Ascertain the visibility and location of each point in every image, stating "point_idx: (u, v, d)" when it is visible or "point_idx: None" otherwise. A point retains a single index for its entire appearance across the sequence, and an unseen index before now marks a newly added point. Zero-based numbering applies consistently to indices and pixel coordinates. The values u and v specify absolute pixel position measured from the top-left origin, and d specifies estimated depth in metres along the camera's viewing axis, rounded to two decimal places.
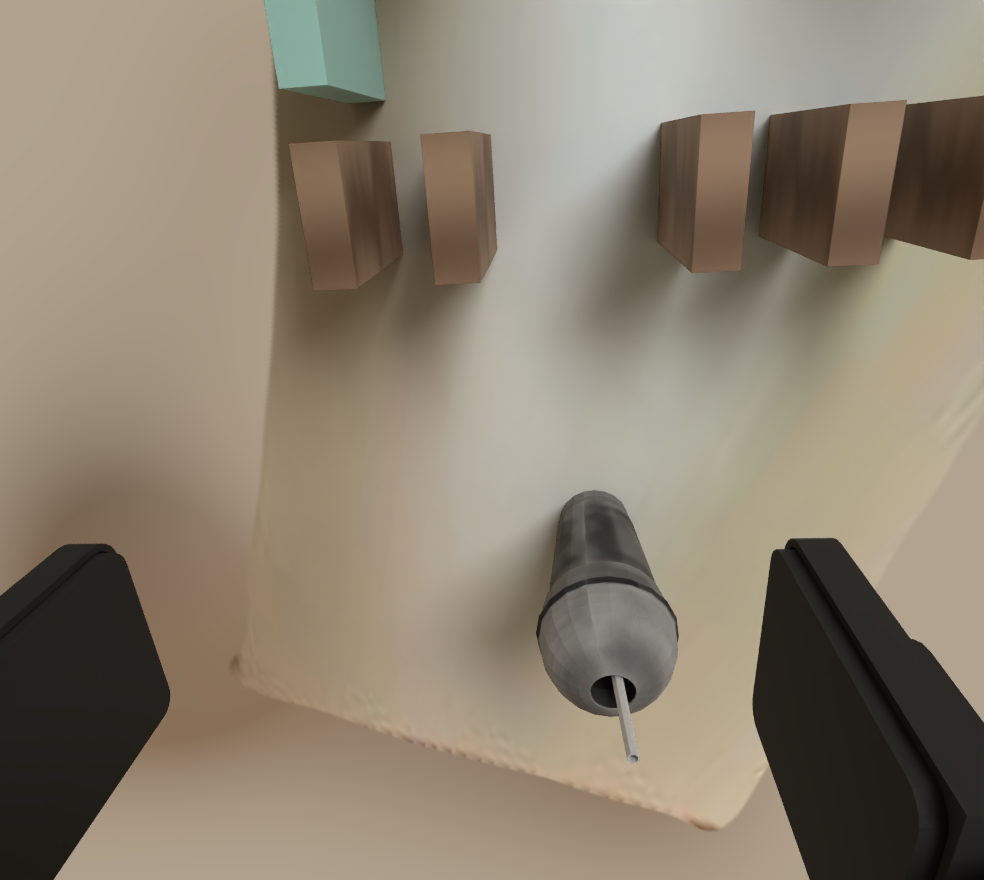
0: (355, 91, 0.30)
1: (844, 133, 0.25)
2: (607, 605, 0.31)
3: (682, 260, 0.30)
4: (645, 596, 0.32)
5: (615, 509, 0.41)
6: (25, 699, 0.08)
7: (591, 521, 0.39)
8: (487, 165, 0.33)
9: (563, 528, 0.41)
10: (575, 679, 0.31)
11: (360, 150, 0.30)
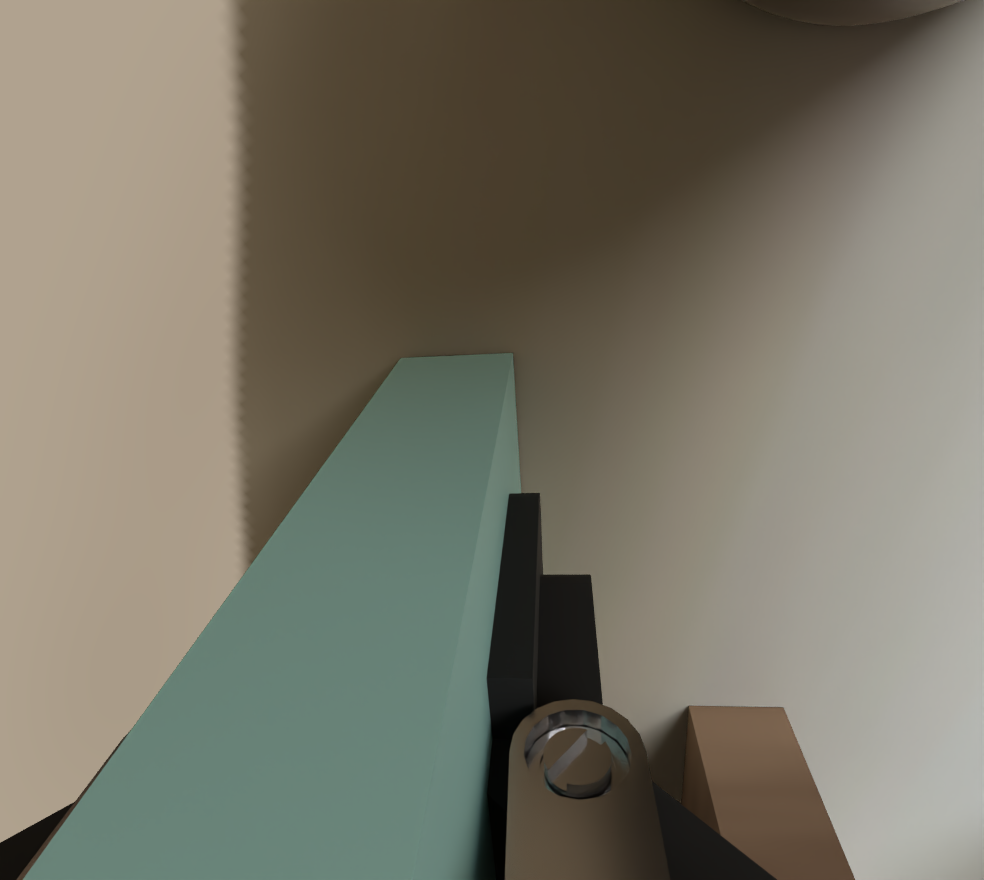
0: None
1: None
2: None
3: None
4: None
5: None
6: None
7: None
8: None
9: None
10: None
11: None
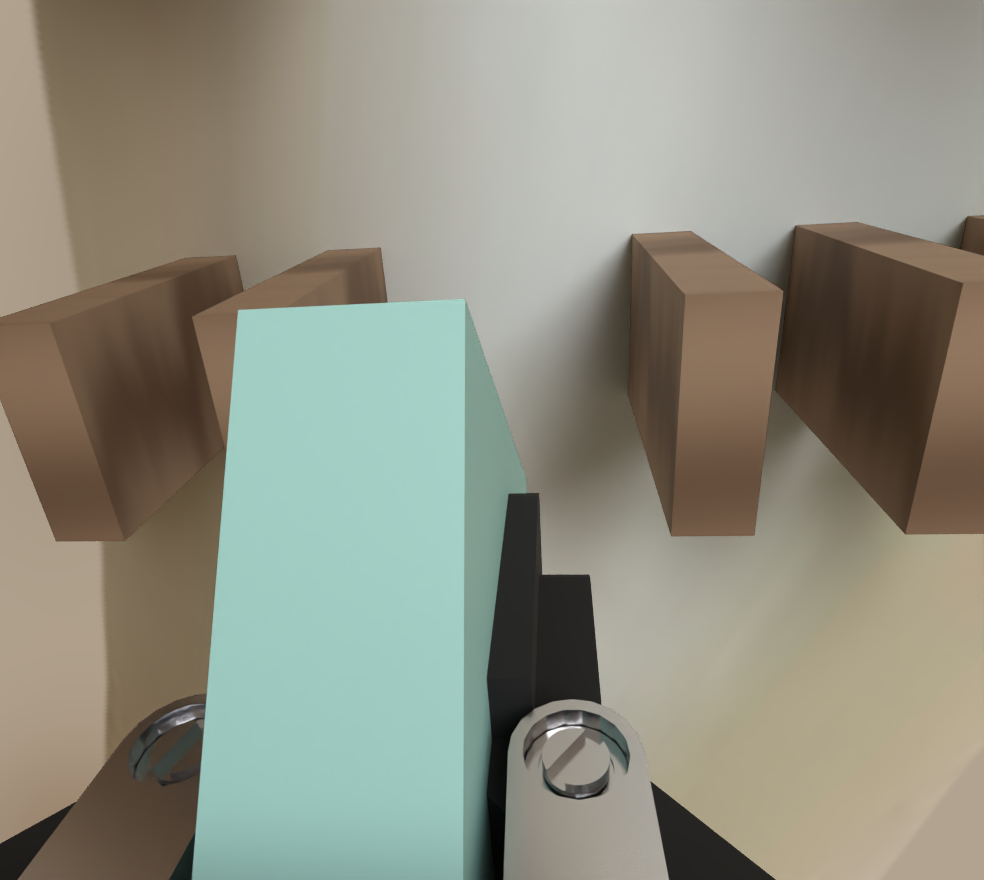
0: None
1: (948, 330, 0.14)
2: None
3: (658, 488, 0.18)
4: None
5: None
6: None
7: None
8: None
9: None
10: None
11: (141, 305, 0.19)
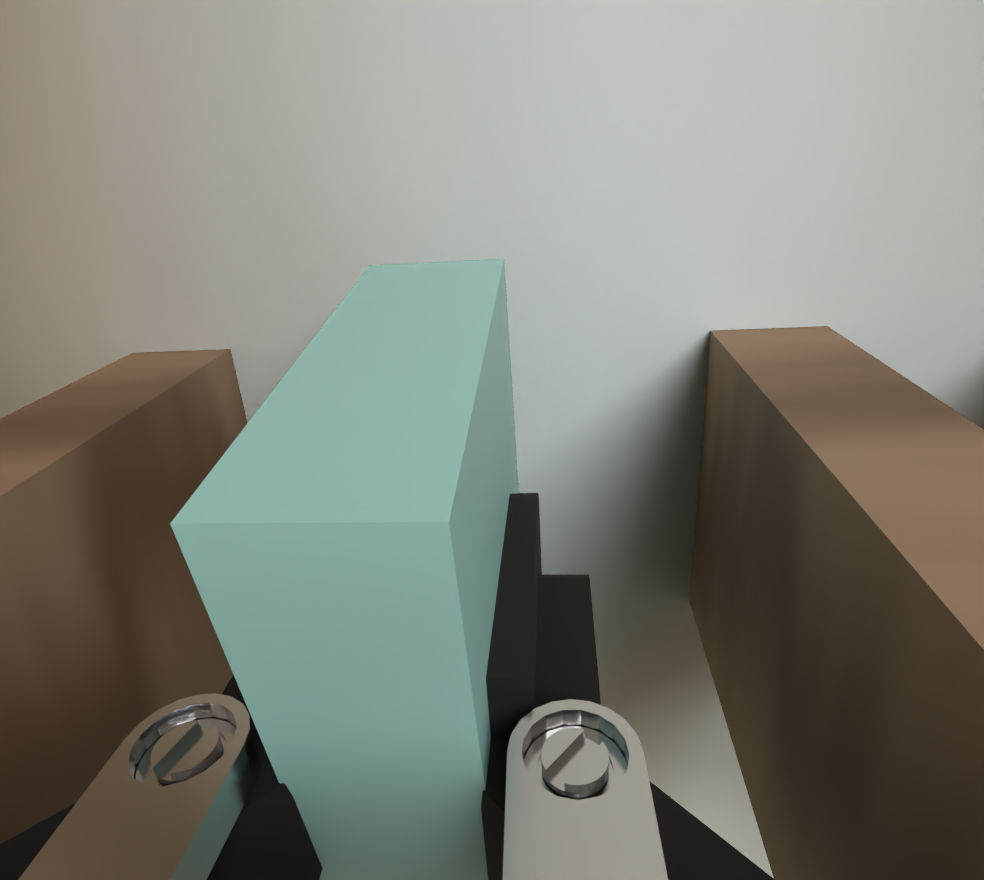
0: None
1: None
2: None
3: None
4: None
5: None
6: None
7: None
8: (166, 490, 0.10)
9: None
10: None
11: None
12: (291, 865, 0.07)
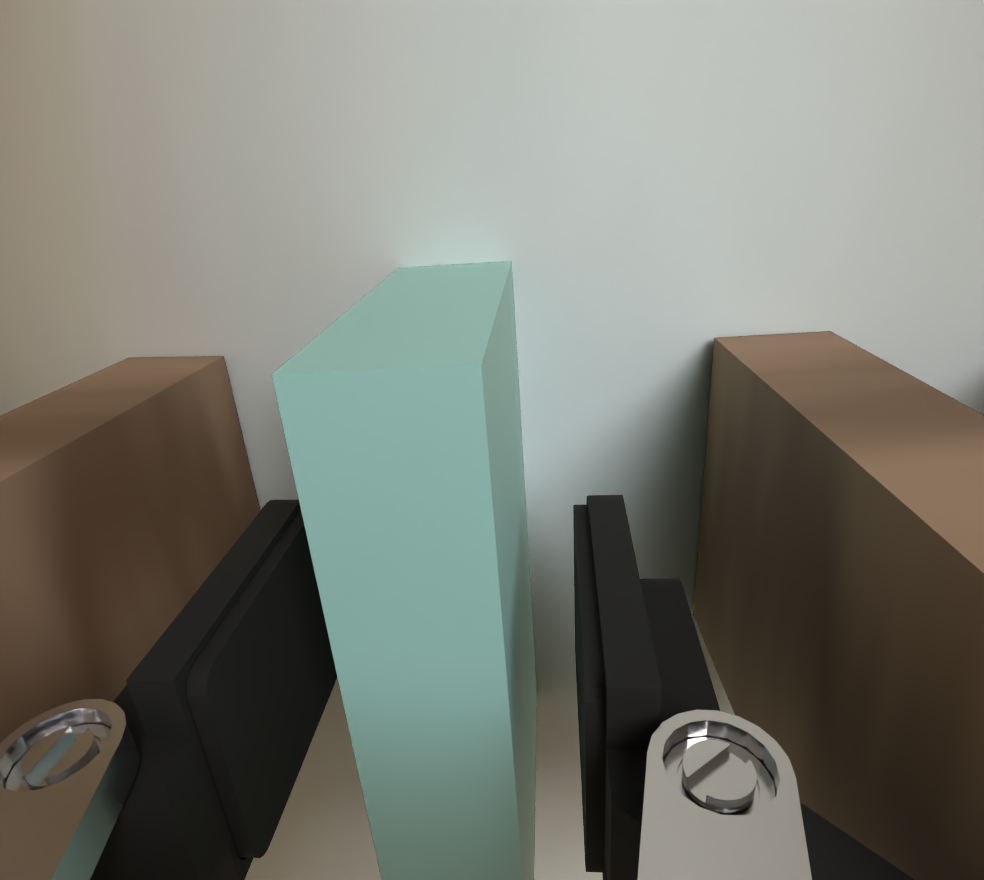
0: (507, 698, 0.08)
1: None
2: None
3: None
4: None
5: None
6: (273, 630, 0.08)
7: None
8: (144, 502, 0.10)
9: None
10: None
11: None
12: None
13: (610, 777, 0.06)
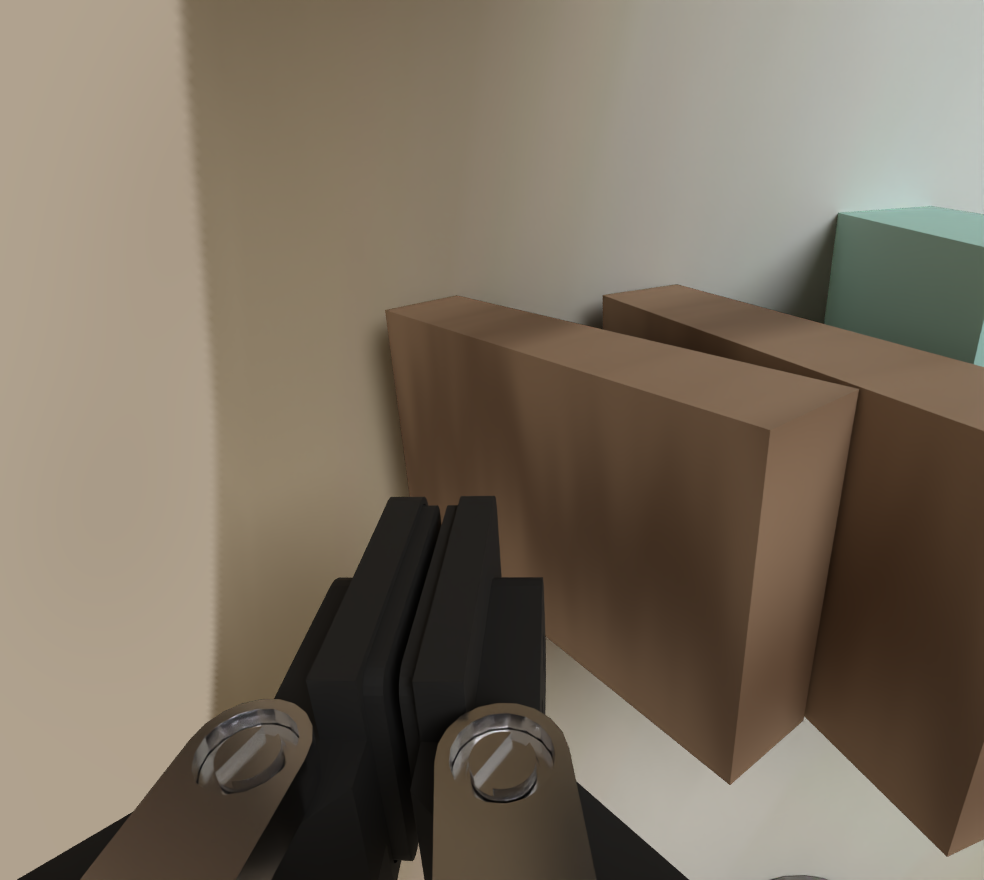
0: None
1: None
2: None
3: None
4: None
5: None
6: None
7: None
8: None
9: None
10: None
11: None
12: None
13: (417, 768, 0.06)
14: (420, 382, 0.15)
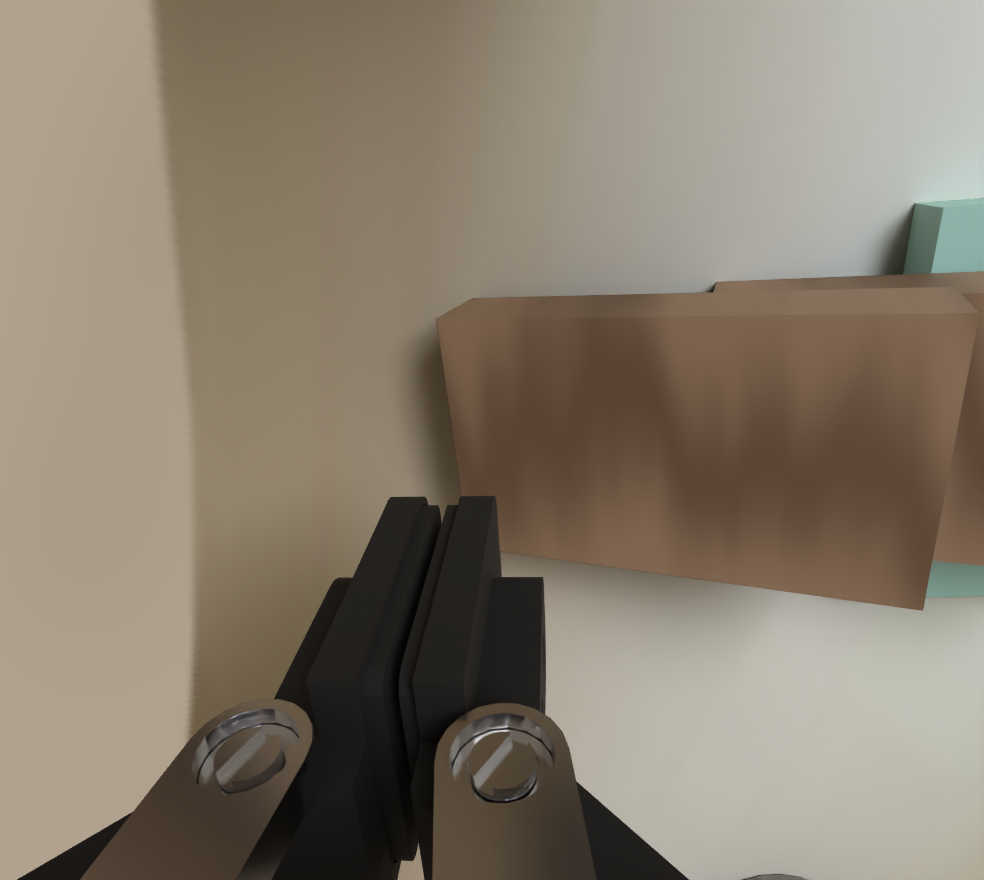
0: None
1: None
2: None
3: None
4: None
5: None
6: None
7: None
8: None
9: None
10: None
11: None
12: None
13: (417, 768, 0.06)
14: (497, 383, 0.15)
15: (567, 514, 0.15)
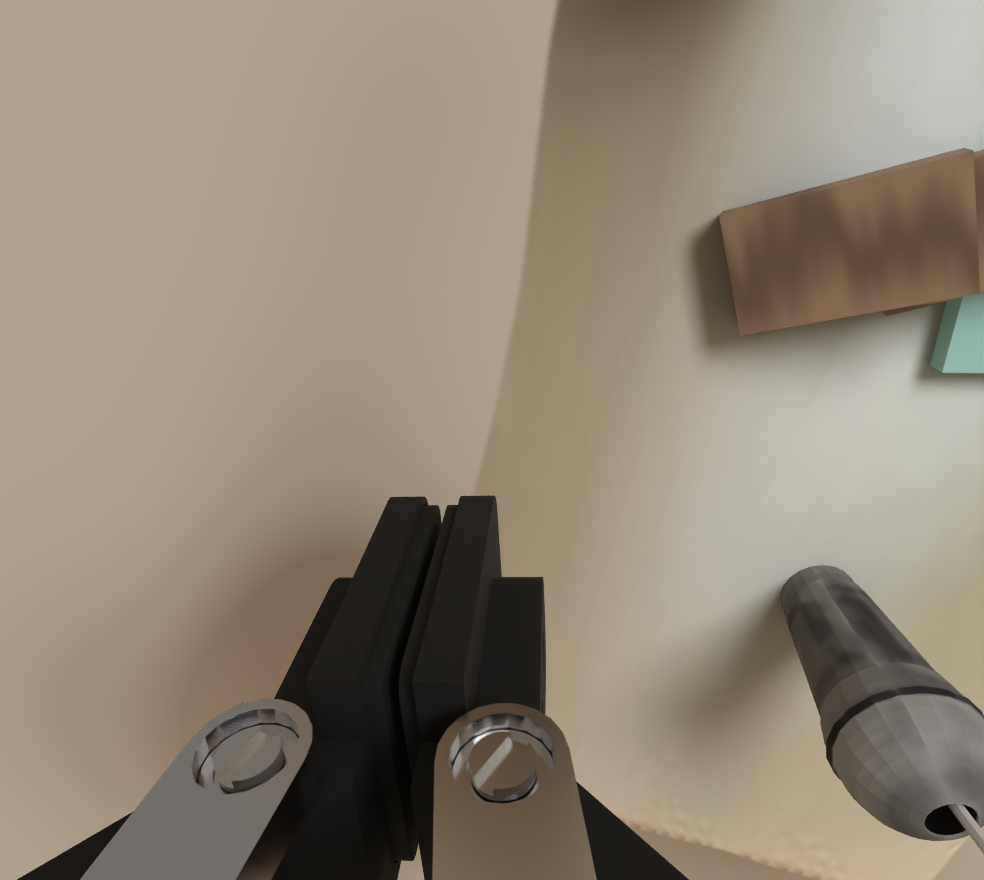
0: None
1: None
2: (934, 722, 0.29)
3: None
4: (967, 709, 0.30)
5: (859, 590, 0.39)
6: None
7: (845, 607, 0.37)
8: None
9: (807, 611, 0.38)
10: (905, 803, 0.28)
11: None
12: None
13: (417, 768, 0.06)
14: (753, 240, 0.31)
15: (794, 300, 0.32)
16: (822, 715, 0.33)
